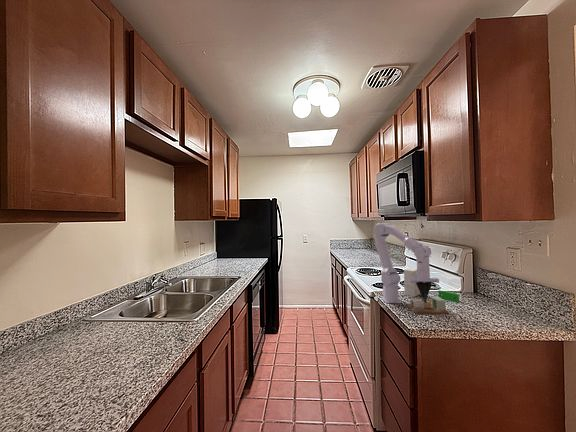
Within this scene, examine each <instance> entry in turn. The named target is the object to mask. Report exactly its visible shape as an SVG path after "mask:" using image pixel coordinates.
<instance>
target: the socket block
mask: <svg viewBox="0 0 576 432" xmlns="http://www.w3.org/2000/svg"><path fill="white" fill-rule="evenodd" d="M430 297H431V298H430V302H431V306H437V310H446V300H444V299H442V298H440V297H439V296H430Z"/></svg>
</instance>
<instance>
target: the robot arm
mask: <svg viewBox="0 0 576 432" xmlns="http://www.w3.org/2000/svg"><path fill="white" fill-rule="evenodd" d="M373 232H374V237H373V238H374V239H373V240H374V243H375V246H376V250H377V253H378V256H379V260H380V262H381V268H382V270H381V272H380V275H381V278H380V279H381V283H382V284H383V286H382V297H381V300H382V301H384V302H385V303H386V304H401V303H402V301H400V300H399V284H400V282H401V276H400V274H399V273H398V270H397V269H396V268H395V267H394V266H393V264H392V263H393V262H392V260H391V256H390V252H389V250H388V249H389V248H388V246H387V243H386V239H387V237H389V236H390V235H392V236H394V237H395V238H397V239H398V240H400V241H401V242H403V246H404V247H406V248H407V249H408V250H410V251H411V252H412V253H413V254H414V256H415V258H416V268H417V278H411V279H408V282H409V283H416V285H417V287H418V289H419V291H420V294H419V295H420V297H421V299H422V298H424V293H426V297H427V298H428V296H429V292H430V290H431V288H432V286H433V283H438V284H439V283H440V278H437V277H431V273H430V272H431V271H430V270H431V269H430V268H431V267H430V256H431V255H432V249H431V248H430V246H428V245H424V244H423V243H422V242H419V241H418V240H416V238H415V237H412V236H409V237H408V236H407V235H406V234H404V233H403V232H402V231H400V229H398V228H397V227H396V225H394V224H392V223H390V222H384V223H380V222H378V223H376V224H375V226H374V227H373Z"/></svg>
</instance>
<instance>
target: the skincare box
mask: <svg viewBox="0 0 576 432" xmlns="http://www.w3.org/2000/svg"><path fill="white" fill-rule="evenodd" d="M411 278H417V267H408V268H404V270H403V285H404V286H403V287H404V292H403V293H404V296H407V297H408V296H409V297H412V298H413V297H414V298H415V297H417V296H419V295H421V294H420V291H419V289H418V287H417V285H416V283H409V282H408V279H411Z"/></svg>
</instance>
